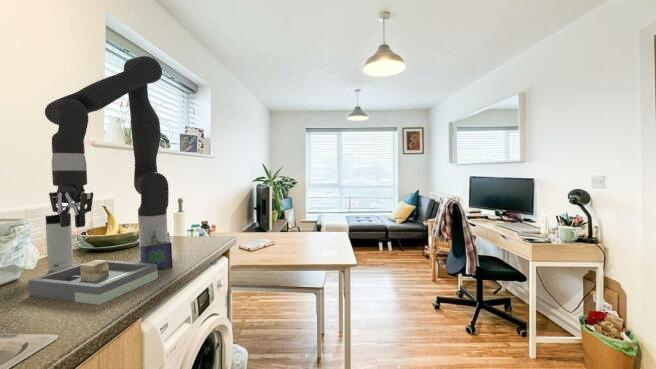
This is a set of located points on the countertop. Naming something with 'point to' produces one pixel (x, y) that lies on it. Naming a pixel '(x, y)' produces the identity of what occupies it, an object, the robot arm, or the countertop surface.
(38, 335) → the countertop surface
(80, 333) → the countertop surface
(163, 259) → the flask
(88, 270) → the maple cube
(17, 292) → the countertop surface
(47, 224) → the travel mug
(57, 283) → the tray
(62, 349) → the countertop surface
